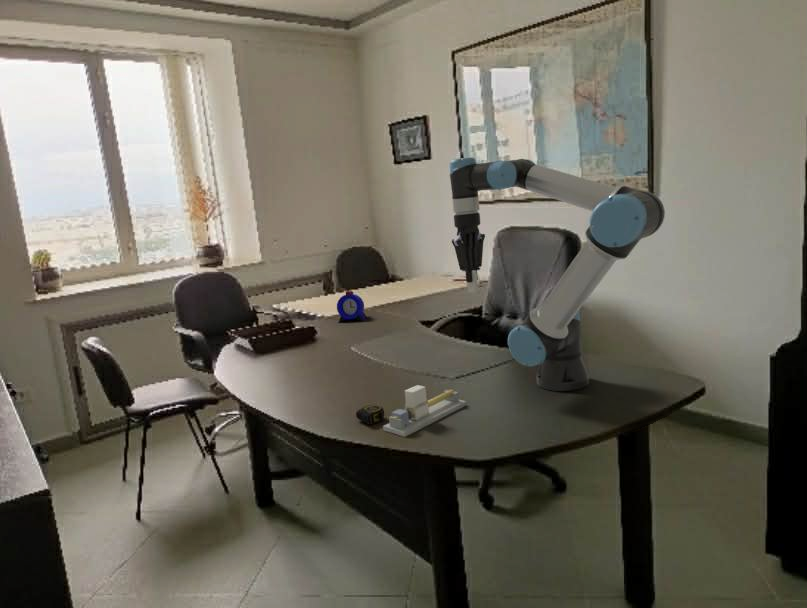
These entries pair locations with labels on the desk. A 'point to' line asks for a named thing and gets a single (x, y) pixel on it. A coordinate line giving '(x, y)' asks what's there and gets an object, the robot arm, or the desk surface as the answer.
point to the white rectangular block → (417, 401)
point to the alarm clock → (350, 307)
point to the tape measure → (370, 414)
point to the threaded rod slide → (437, 410)
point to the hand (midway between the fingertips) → (473, 292)
